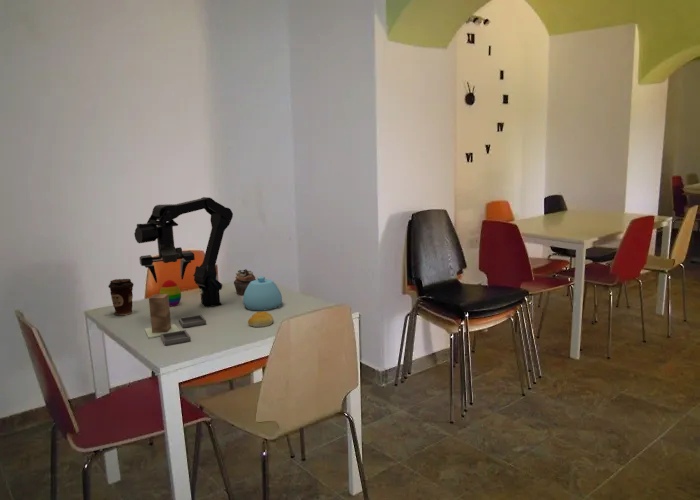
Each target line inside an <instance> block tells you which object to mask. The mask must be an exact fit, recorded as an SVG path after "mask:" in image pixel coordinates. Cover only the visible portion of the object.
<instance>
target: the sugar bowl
mask: <svg viewBox="0 0 700 500" xmlns="http://www.w3.org/2000/svg"><path fill="white" fill-rule="evenodd" d="M282 302H283V296H282V293H281V290H280V289H279V287H278V286H277V284H276V283H275V281H274V280H272V279H268V278H266V276H264V275H263V276H258V277H257V279H256V280H254V281H251V282H250V283H249V285H248V287H247V288H246V290H245V293H244V295H243V297H242V304H243V305H244V306H245V307H246V308H247V309H248V310H250V309H251V311H258V310H260V311H265V310H264V309H270V310H272V309H271V308H274V309H276V308H278V307H279V306H280V305H281V304H282ZM277 306H278V307H277ZM275 307H276V308H275Z"/></svg>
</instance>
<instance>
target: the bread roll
mask: <svg viewBox="0 0 700 500" xmlns="http://www.w3.org/2000/svg"><path fill="white" fill-rule="evenodd" d="M273 322H274V317H273V316H272V314H271V313H269V312H267V311H258V312H255V313H254V314H253V315H252V316H251V317H250V318H248V320H247V324H248V325H249V327H252V326H253V328H264V326H265V327H268V326H270V325H271V324H273Z"/></svg>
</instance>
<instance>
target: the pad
mask: <svg viewBox="0 0 700 500" xmlns="http://www.w3.org/2000/svg"><path fill="white" fill-rule="evenodd" d="M176 331H180V330H179V328H178V327H177V325H176V324H175V323H171V329H170V330H169V331H168V332H163V333H152V327H147V328H144V332H145V334H146V335H147V338H148V339H153V338H159V337H160V338H161V334H164V333H170V332H176Z"/></svg>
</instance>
